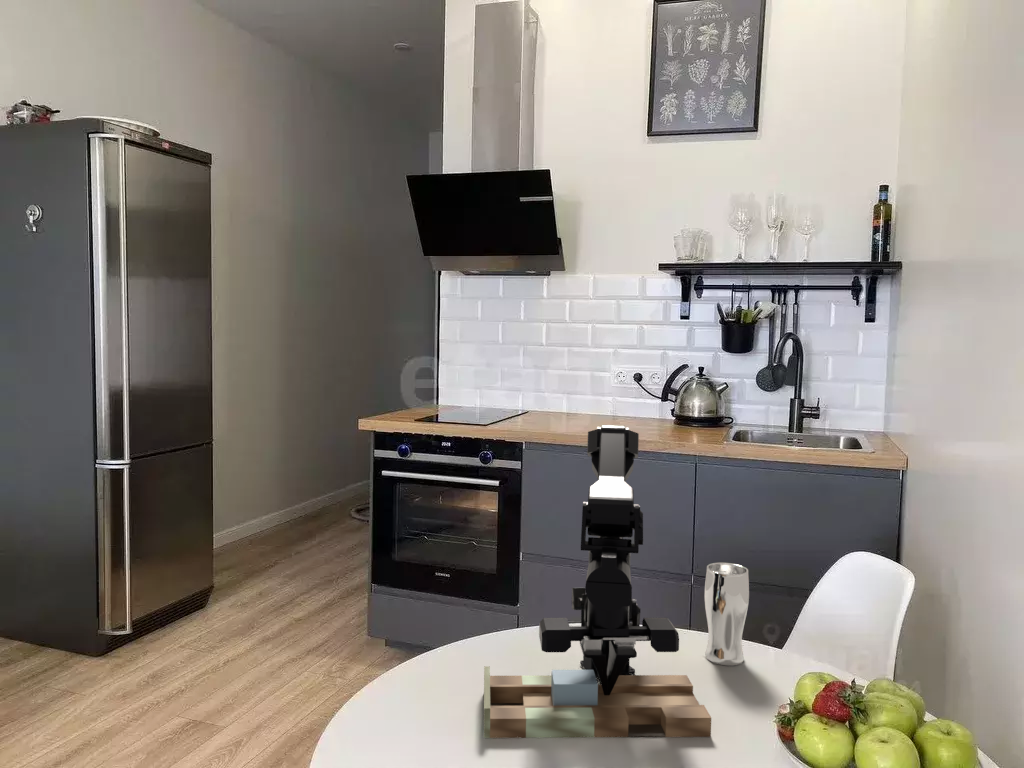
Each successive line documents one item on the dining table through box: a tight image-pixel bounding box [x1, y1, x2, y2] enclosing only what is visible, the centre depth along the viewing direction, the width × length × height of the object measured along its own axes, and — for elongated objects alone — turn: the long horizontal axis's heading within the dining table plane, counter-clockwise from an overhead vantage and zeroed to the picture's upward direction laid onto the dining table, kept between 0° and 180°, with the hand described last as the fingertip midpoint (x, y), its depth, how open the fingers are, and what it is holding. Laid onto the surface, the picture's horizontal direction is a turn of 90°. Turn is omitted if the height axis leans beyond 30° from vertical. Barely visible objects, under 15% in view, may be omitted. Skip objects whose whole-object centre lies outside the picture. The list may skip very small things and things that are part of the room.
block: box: [550, 669, 599, 705], centre depth 107 cm, size 6×4×4 cm
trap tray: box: [483, 665, 712, 739], centre depth 107 cm, size 30×12×4 cm, turn 92°
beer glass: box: [704, 562, 750, 667], centre depth 125 cm, size 7×7×15 cm
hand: (606, 694), depth 107 cm, fingers closed
